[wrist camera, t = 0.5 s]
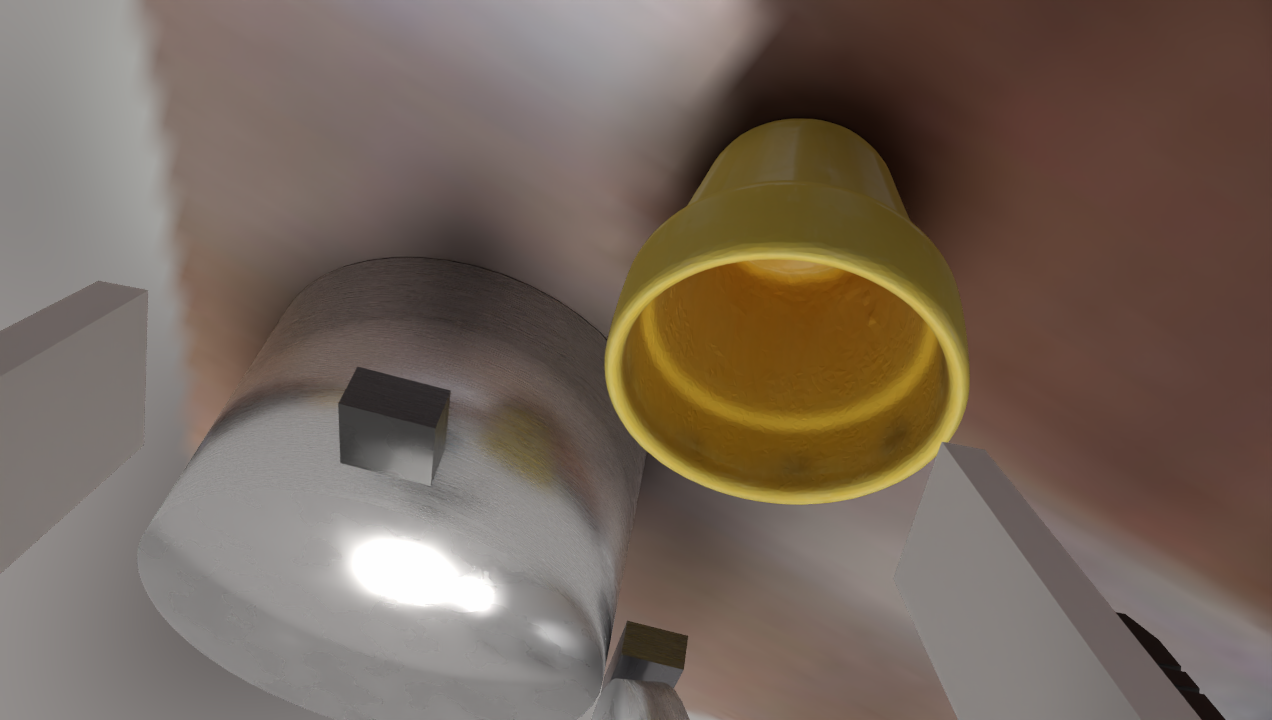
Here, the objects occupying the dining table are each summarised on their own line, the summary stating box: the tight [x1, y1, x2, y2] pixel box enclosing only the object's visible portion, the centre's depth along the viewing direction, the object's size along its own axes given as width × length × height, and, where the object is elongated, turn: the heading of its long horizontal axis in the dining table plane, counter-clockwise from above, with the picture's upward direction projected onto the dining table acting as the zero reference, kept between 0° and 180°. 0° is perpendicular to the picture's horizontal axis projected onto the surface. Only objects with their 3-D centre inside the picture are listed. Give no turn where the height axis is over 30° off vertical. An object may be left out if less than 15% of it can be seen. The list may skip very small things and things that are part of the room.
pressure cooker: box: [137, 258, 688, 720], centre depth 40 cm, size 24×21×12 cm
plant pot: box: [605, 119, 970, 505], centre depth 30 cm, size 10×10×10 cm
